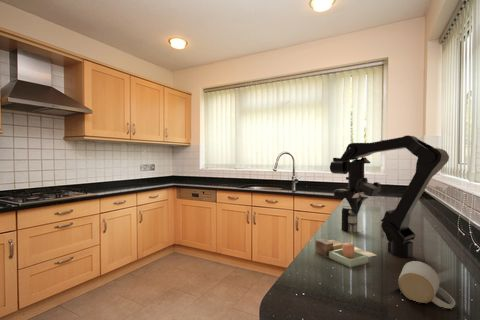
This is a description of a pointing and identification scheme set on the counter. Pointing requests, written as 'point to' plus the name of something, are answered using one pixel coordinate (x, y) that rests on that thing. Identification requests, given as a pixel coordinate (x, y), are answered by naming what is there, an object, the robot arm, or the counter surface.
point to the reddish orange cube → (348, 250)
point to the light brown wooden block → (336, 244)
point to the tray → (356, 261)
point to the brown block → (323, 247)
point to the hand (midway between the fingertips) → (355, 214)
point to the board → (362, 252)
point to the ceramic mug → (422, 284)
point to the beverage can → (349, 220)
